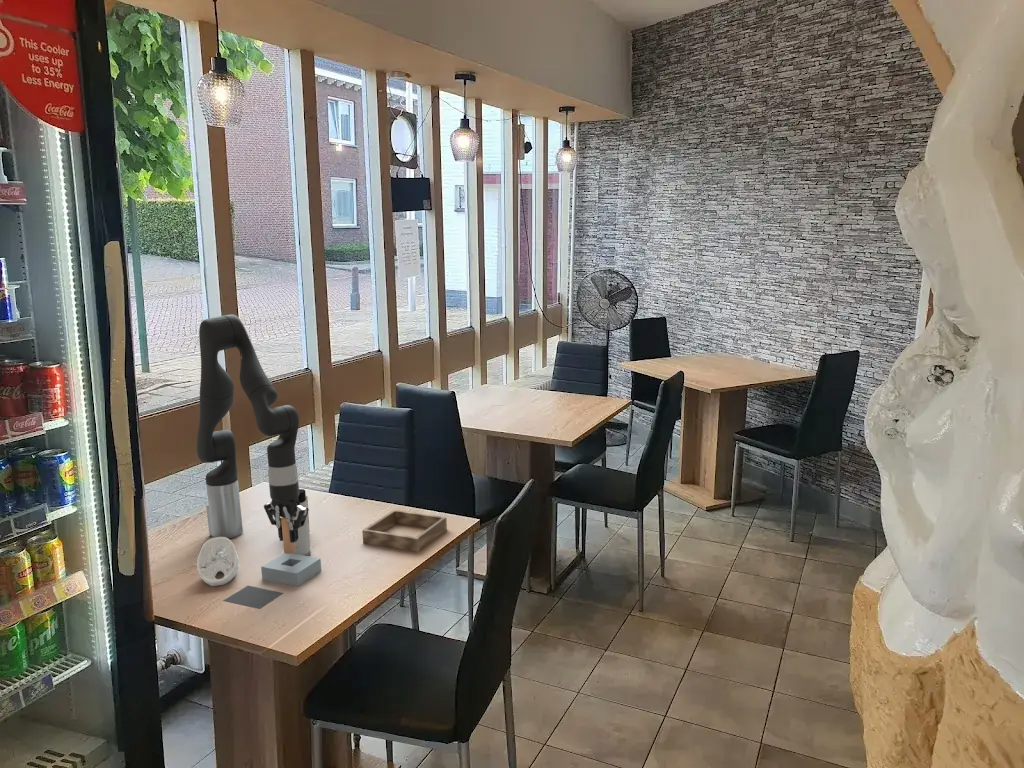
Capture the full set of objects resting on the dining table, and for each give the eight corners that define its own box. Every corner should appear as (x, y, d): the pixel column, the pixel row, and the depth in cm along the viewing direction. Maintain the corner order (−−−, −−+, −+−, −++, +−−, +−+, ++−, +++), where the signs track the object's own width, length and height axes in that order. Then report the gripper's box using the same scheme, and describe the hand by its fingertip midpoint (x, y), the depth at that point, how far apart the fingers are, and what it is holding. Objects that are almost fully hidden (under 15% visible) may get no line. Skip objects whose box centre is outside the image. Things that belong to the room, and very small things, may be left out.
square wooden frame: (363, 542, 231) (362, 530, 230) (394, 521, 247) (394, 509, 247) (417, 551, 224) (417, 538, 223) (446, 529, 240) (446, 517, 239)
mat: (223, 602, 196) (222, 600, 196) (247, 586, 204) (247, 585, 204) (260, 610, 192) (259, 608, 191) (283, 594, 200) (283, 592, 200)
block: (262, 580, 208) (261, 566, 207) (286, 565, 217) (285, 552, 216) (298, 587, 203) (296, 573, 202) (321, 571, 212) (320, 558, 211)
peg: (281, 552, 208) (278, 517, 206) (288, 548, 210) (285, 514, 208) (290, 554, 207) (287, 519, 205) (297, 550, 209) (294, 515, 207)
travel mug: (291, 561, 219) (285, 495, 215) (286, 553, 225) (280, 488, 221) (313, 556, 222) (307, 491, 218) (307, 548, 228) (302, 484, 224)
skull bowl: (243, 556, 220) (238, 531, 212) (241, 599, 210) (235, 575, 202) (204, 560, 218) (197, 535, 209) (201, 604, 208) (193, 579, 200)
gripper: (253, 481, 204) (259, 542, 207) (295, 487, 198) (301, 549, 202) (272, 473, 211) (277, 532, 214) (313, 478, 205) (318, 539, 209)
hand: (288, 540), depth 208 cm, fingers closed on peg, 3 cm apart
